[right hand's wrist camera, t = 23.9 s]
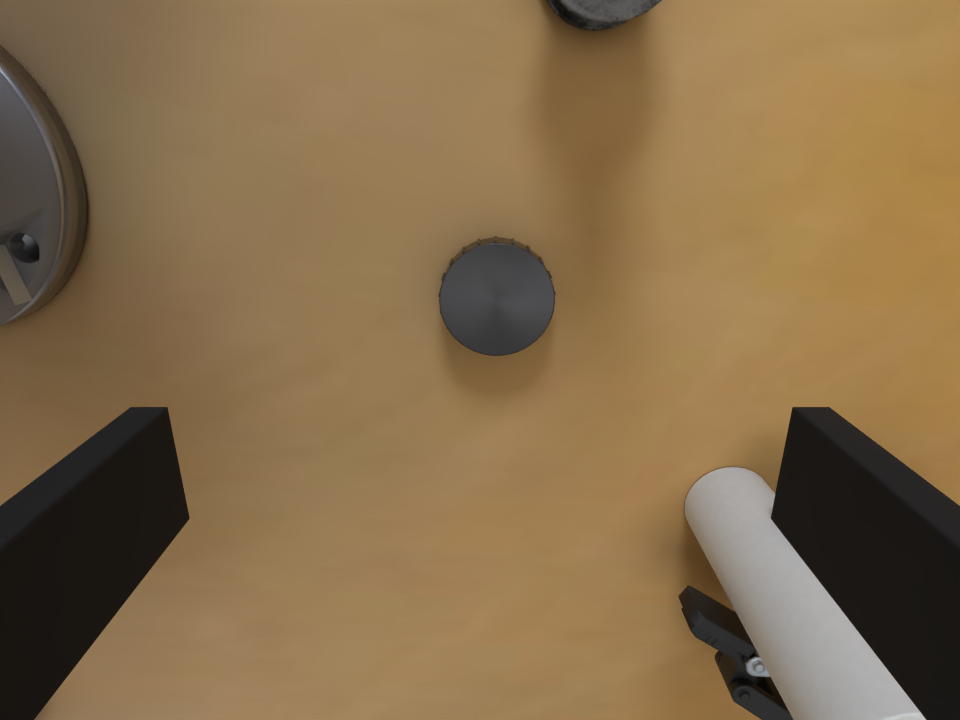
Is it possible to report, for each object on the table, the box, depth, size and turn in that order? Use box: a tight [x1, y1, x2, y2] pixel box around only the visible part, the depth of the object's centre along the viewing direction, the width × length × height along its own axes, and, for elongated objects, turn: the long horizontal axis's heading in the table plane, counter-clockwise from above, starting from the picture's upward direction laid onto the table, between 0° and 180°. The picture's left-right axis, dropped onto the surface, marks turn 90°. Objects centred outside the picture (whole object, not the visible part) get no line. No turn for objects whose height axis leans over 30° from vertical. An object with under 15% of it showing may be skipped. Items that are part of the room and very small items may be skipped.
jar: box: [685, 467, 926, 720], centre depth 26 cm, size 5×5×17 cm
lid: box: [438, 236, 555, 356], centre depth 29 cm, size 6×6×2 cm
